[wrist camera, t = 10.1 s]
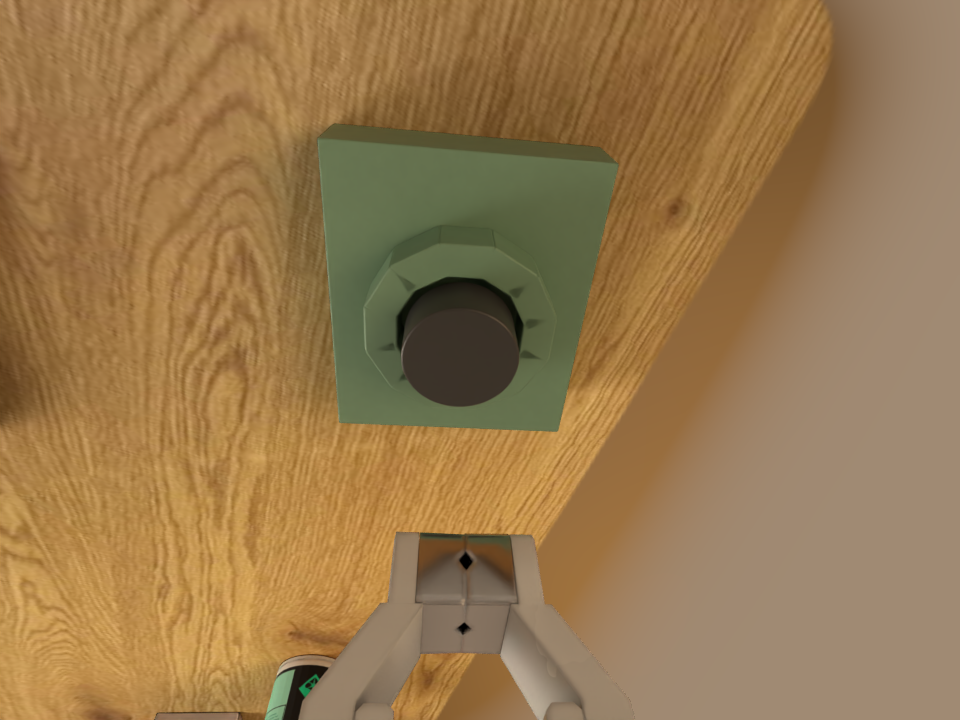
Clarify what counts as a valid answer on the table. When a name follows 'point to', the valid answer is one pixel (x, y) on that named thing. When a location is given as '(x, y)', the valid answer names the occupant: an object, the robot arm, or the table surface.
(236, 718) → the juice carton
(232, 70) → the table surface
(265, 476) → the table surface
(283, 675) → the spray can
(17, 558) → the table surface
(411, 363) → the button
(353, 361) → the button base
